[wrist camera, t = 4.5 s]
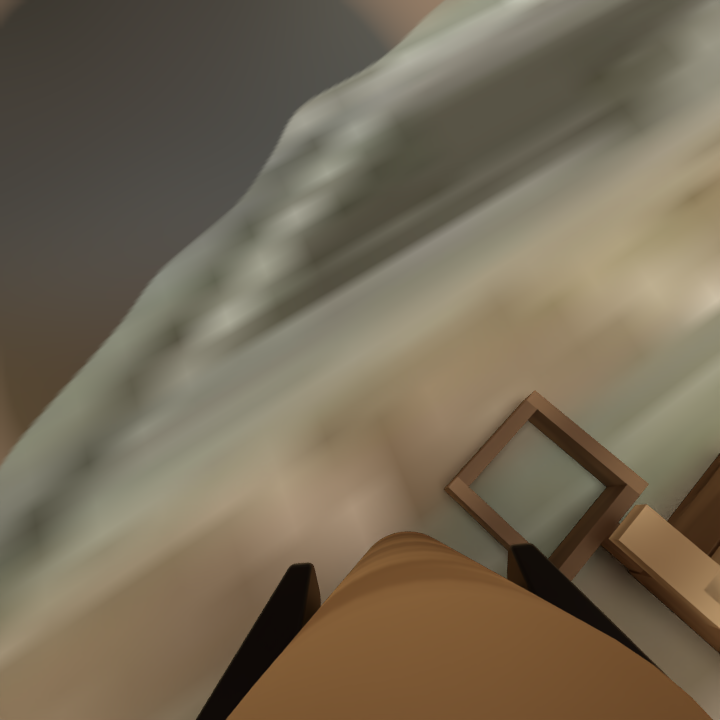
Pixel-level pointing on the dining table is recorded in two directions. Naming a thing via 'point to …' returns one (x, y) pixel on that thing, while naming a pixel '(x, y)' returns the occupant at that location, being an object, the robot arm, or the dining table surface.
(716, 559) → the lid
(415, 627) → the key peg
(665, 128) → the dining table surface
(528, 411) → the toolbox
